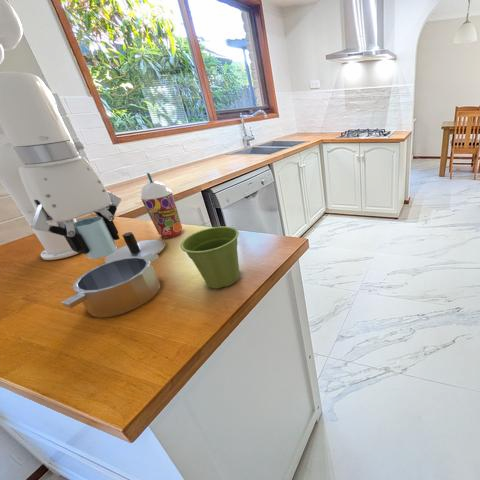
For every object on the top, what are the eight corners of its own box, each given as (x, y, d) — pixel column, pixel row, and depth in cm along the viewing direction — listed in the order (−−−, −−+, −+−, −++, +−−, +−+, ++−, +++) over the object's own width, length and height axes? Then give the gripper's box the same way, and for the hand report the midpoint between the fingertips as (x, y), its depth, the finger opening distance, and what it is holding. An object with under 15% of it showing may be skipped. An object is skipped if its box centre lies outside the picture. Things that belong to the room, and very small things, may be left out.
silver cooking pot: (59, 319, 59) (41, 294, 56) (143, 269, 75) (133, 248, 72) (102, 332, 55) (85, 306, 52) (182, 277, 70) (173, 254, 67)
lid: (94, 264, 79) (82, 243, 76) (142, 240, 91) (134, 221, 88) (130, 271, 74) (119, 249, 71) (176, 245, 86) (168, 225, 83)
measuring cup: (81, 257, 58) (63, 226, 55) (107, 245, 62) (92, 215, 59) (97, 260, 57) (79, 228, 53) (123, 248, 61) (108, 217, 58)
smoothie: (173, 240, 89) (148, 177, 80) (151, 239, 91) (123, 177, 82) (191, 228, 97) (170, 169, 87) (170, 228, 98) (147, 169, 89)
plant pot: (186, 297, 63) (168, 252, 58) (211, 267, 74) (197, 227, 68) (239, 295, 63) (225, 250, 57) (256, 265, 73) (246, 225, 68)
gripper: (88, 145, 59) (127, 226, 67) (-31, 166, 45) (36, 265, 53) (113, 144, 56) (150, 229, 65) (-5, 166, 42) (61, 270, 50)
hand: (98, 244), depth 59 cm, fingers closed on measuring cup, 5 cm apart
